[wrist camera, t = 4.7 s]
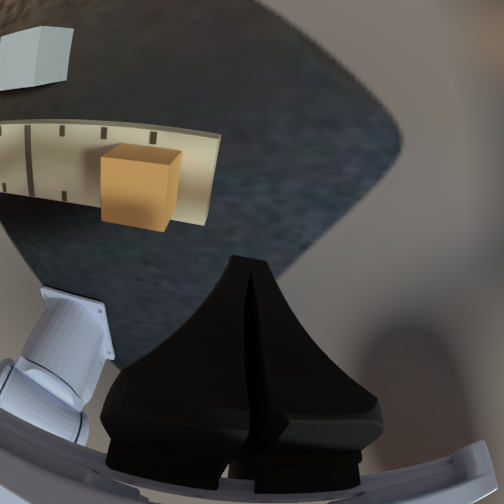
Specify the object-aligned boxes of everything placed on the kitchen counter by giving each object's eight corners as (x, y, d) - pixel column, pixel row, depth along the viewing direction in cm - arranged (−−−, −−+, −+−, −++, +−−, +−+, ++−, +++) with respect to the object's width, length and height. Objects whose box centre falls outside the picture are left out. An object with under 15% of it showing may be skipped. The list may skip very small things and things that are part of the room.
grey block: (67, 80, 15) (33, 86, 12) (29, 83, 15) (-5, 91, 12) (74, 28, 13) (41, 26, 10) (34, 35, 13) (1, 36, 10)
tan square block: (175, 209, 19) (163, 232, 17) (120, 199, 19) (101, 220, 16) (182, 150, 17) (169, 165, 15) (122, 143, 17) (100, 156, 14)
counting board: (207, 215, 21) (204, 226, 20) (1, 184, 19) (-9, 191, 18) (221, 134, 18) (218, 139, 17) (-3, 121, 16) (-15, 126, 15)
